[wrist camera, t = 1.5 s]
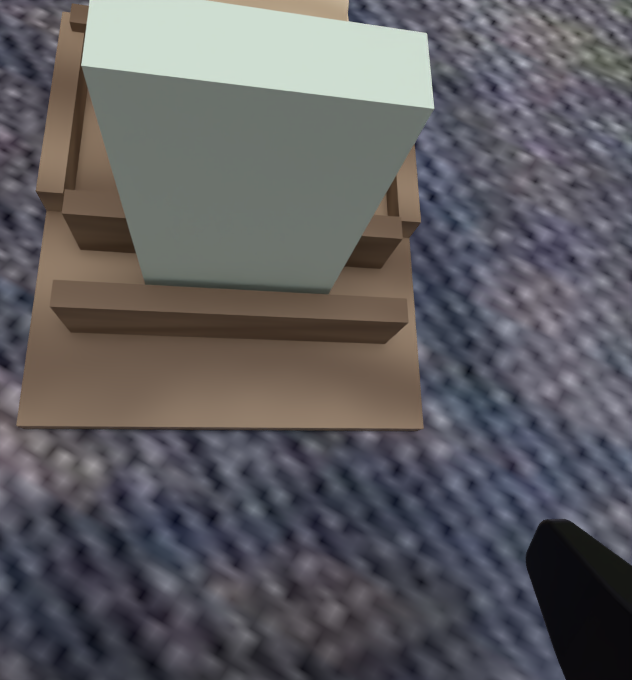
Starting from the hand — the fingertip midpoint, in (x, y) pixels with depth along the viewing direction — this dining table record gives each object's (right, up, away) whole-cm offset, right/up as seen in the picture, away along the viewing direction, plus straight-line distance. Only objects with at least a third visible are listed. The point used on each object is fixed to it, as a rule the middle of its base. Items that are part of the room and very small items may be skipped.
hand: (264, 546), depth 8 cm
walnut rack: (-3, +8, +17) cm, 18 cm away
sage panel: (-3, +5, +15) cm, 16 cm away
